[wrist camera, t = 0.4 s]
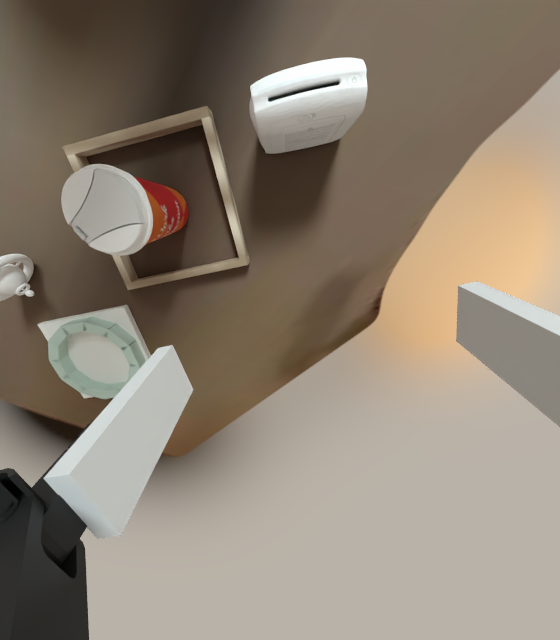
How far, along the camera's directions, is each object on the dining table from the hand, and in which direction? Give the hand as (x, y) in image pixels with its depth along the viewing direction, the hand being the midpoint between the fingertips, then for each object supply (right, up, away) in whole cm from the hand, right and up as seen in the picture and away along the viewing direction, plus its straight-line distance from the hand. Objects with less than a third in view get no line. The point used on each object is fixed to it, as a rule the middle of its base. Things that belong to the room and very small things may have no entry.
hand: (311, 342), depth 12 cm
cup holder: (-31, -5, +33) cm, 45 cm away
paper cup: (-16, +16, +23) cm, 33 cm away
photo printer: (+1, +24, +19) cm, 31 cm away
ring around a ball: (-38, +8, +28) cm, 48 cm away
